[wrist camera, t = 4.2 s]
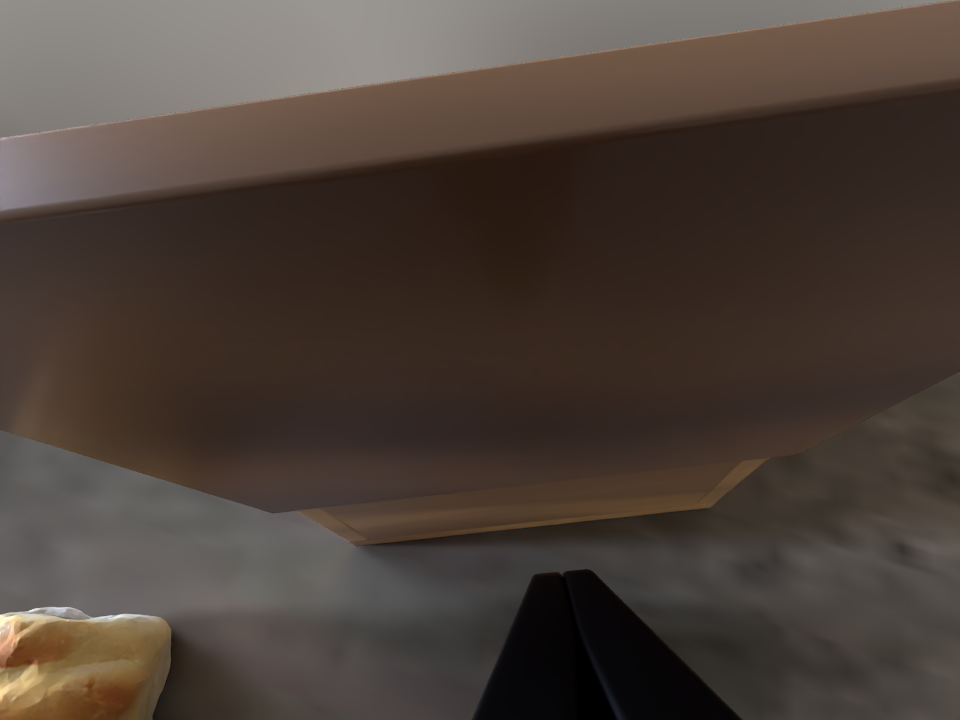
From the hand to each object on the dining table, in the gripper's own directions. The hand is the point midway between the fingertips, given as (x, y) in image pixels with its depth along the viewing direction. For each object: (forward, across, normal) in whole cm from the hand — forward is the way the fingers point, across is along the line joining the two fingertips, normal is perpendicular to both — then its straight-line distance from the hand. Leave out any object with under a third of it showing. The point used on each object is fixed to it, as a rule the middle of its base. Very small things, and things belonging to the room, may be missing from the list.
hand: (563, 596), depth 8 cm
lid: (+2, 0, -3) cm, 3 cm away
